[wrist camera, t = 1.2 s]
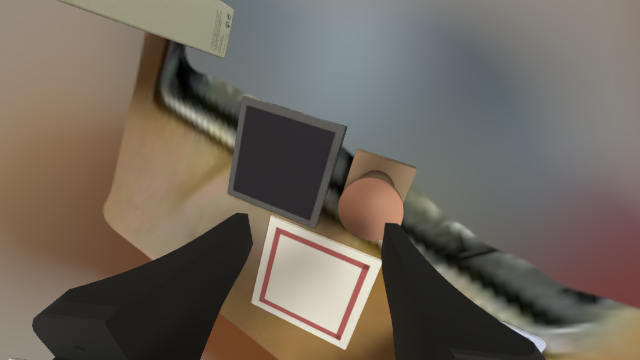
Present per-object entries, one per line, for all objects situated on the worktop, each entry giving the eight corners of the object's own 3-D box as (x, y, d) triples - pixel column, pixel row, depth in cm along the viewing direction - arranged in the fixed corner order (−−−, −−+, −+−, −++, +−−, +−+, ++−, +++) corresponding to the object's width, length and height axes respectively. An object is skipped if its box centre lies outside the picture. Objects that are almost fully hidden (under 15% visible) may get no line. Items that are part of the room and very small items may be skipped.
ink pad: (347, 126, 21) (344, 127, 20) (318, 224, 24) (314, 229, 23) (248, 96, 23) (241, 95, 22) (233, 190, 26) (226, 193, 25)
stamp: (415, 166, 20) (425, 188, 14) (394, 217, 22) (394, 259, 15) (358, 148, 21) (343, 161, 15) (342, 198, 23) (321, 230, 16)
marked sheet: (382, 260, 23) (382, 262, 23) (345, 347, 27) (345, 350, 26) (272, 215, 25) (270, 216, 25) (252, 301, 29) (250, 303, 29)
